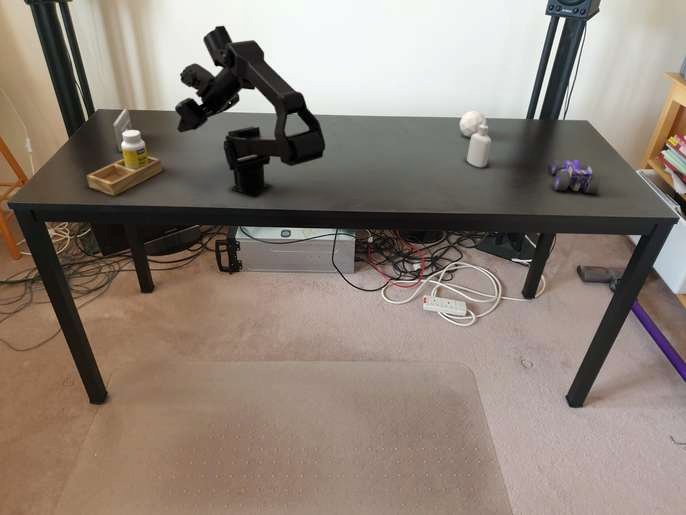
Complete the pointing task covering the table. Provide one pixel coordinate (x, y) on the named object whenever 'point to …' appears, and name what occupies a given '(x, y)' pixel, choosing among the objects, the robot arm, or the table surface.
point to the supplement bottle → (134, 150)
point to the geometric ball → (471, 123)
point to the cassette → (122, 127)
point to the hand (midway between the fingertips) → (190, 124)
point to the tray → (122, 176)
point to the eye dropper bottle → (479, 147)
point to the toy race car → (574, 176)
